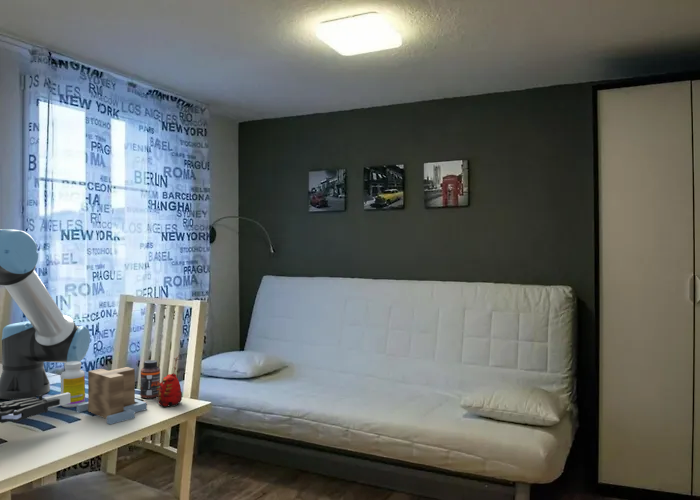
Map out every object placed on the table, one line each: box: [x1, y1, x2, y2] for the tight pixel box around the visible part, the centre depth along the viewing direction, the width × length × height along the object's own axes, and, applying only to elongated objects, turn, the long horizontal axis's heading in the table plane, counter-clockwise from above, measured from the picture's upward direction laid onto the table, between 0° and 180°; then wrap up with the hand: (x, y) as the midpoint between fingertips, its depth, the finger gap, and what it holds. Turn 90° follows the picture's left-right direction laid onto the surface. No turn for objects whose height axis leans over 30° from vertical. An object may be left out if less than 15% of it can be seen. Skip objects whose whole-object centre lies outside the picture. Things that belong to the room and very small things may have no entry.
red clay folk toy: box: [157, 354, 183, 408], centre depth 175 cm, size 8×7×15 cm
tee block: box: [87, 366, 136, 420], centre depth 167 cm, size 12×10×12 cm
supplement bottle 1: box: [60, 361, 86, 408], centre depth 173 cm, size 7×7×13 cm
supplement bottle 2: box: [139, 359, 161, 399], centre depth 183 cm, size 6×6×11 cm
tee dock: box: [76, 398, 148, 425], centre depth 167 cm, size 18×14×2 cm
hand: (68, 397), depth 156 cm, fingers closed
